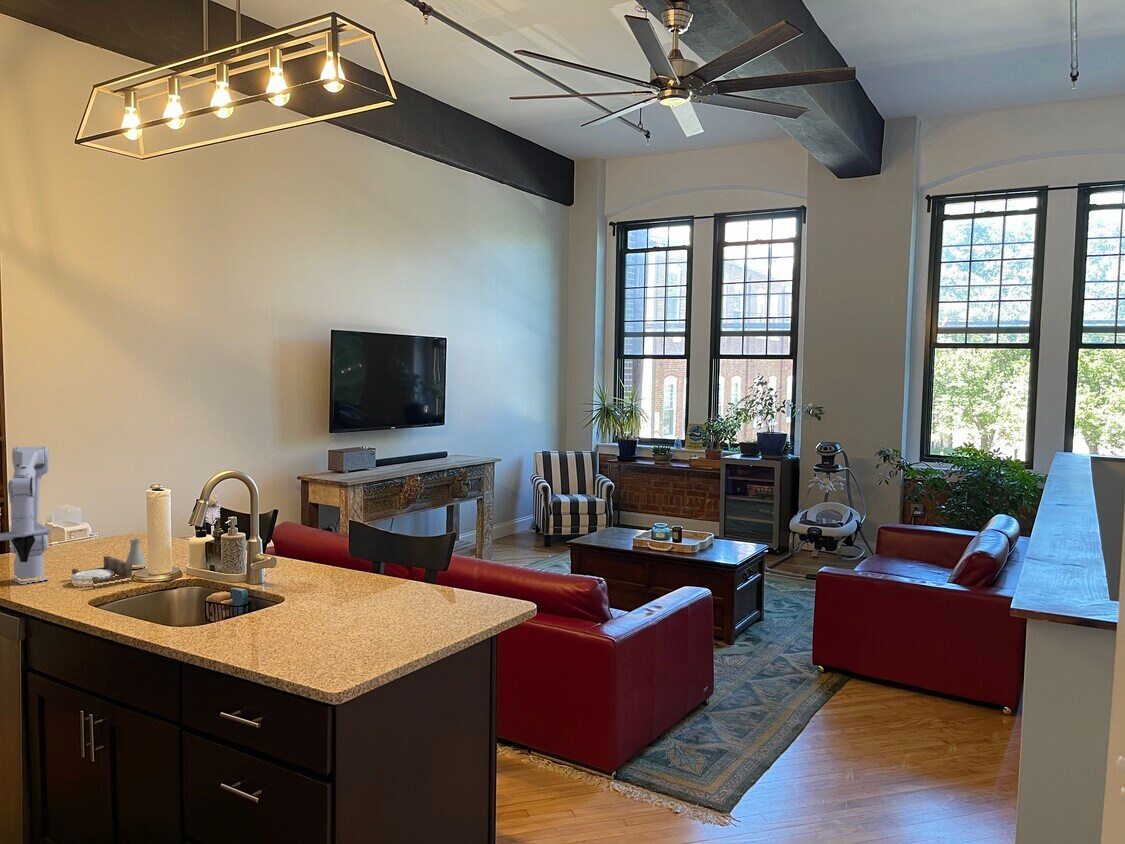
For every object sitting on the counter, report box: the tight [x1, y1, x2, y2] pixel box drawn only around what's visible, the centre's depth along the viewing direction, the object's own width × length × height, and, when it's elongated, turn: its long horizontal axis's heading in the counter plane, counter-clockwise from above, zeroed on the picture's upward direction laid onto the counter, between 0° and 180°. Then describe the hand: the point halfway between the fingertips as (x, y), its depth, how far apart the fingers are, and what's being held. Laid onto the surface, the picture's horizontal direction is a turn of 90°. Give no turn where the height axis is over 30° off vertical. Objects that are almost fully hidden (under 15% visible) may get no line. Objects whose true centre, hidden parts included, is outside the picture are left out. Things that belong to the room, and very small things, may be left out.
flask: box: [125, 538, 148, 570], centre depth 284 cm, size 7×7×10 cm
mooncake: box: [71, 568, 115, 586], centre depth 264 cm, size 12×12×4 cm
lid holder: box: [71, 555, 133, 589], centre depth 266 cm, size 18×11×6 cm, turn 50°
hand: (23, 561), depth 251 cm, fingers closed
